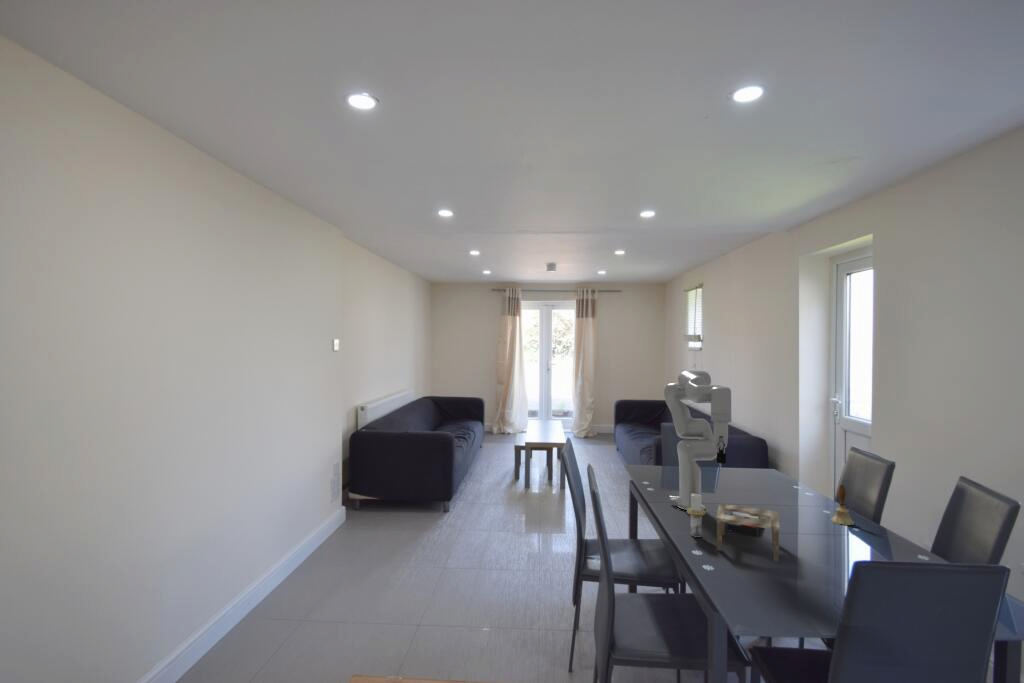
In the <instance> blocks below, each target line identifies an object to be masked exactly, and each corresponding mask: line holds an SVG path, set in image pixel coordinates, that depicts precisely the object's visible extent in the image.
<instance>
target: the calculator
mask: <svg viewBox="0 0 1024 683" xmlns="http://www.w3.org/2000/svg"><path fill="white" fill-rule="evenodd" d="M730 516H736V517H743V518H750V517H753V518H759V519H761V517H756V516H750V514H746V513H739V512H732V511H731V513H730ZM760 528H761V527H755V526H749V525H742V524H736V523H730V522H726V530H727V529H728V530H732V531H731V532H733V531H736V532H735V533H738V532H740V533H739V534H743V533H744V535H749V536H755V537H758V536H759V531H760ZM728 530H727V531H728Z"/></svg>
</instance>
